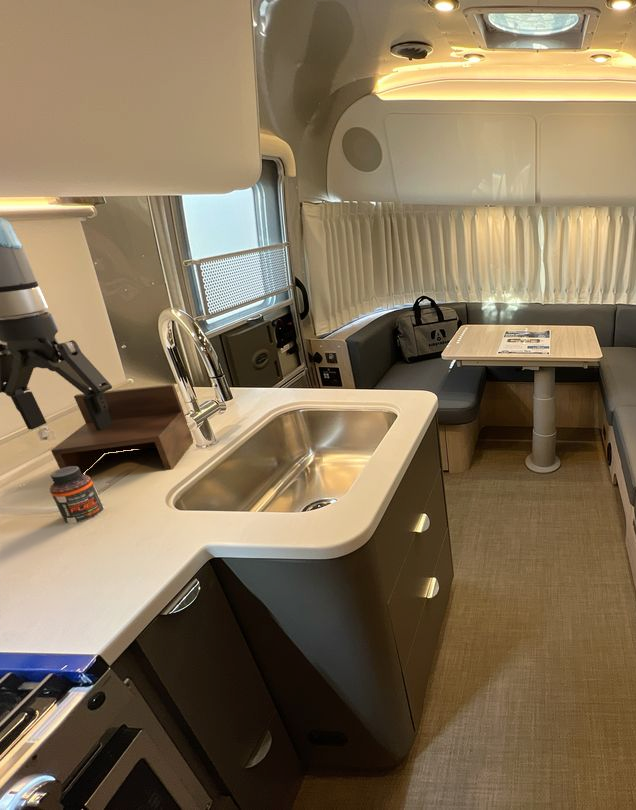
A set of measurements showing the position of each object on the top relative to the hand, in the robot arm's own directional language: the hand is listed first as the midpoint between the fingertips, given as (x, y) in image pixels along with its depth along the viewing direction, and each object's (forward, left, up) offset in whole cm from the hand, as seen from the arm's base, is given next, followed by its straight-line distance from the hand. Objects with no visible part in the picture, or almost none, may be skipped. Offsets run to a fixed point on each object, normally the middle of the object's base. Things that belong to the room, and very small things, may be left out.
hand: (71, 427), depth 90 cm
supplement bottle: (-3, -2, -19) cm, 20 cm away
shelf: (-4, +21, -19) cm, 29 cm away
